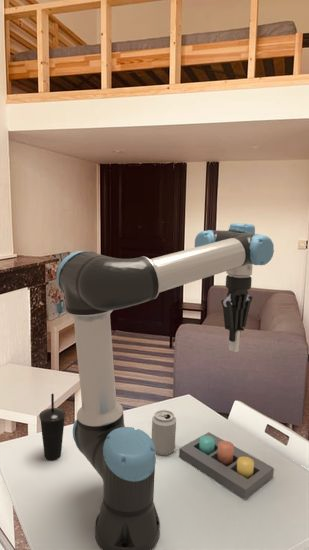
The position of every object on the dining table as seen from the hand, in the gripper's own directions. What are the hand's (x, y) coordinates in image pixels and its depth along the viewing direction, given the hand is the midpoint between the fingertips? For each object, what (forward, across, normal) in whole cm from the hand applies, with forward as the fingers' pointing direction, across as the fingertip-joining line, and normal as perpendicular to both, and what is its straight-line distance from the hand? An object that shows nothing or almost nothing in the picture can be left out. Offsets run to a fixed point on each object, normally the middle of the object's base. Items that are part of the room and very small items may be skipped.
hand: (233, 350), depth 124 cm
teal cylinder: (+31, -9, +1) cm, 32 cm away
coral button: (+29, -9, -6) cm, 31 cm away
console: (+32, -9, -6) cm, 34 cm away
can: (+33, -17, +12) cm, 39 cm away
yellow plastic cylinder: (+31, -9, -13) cm, 35 cm away
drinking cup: (+33, -45, +31) cm, 64 cm away
